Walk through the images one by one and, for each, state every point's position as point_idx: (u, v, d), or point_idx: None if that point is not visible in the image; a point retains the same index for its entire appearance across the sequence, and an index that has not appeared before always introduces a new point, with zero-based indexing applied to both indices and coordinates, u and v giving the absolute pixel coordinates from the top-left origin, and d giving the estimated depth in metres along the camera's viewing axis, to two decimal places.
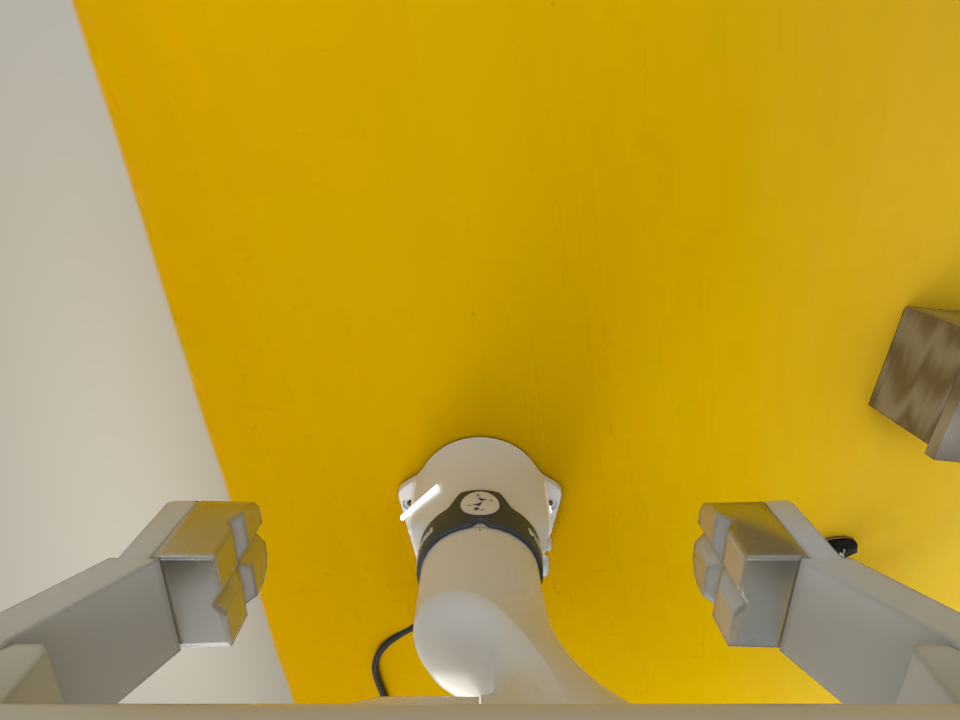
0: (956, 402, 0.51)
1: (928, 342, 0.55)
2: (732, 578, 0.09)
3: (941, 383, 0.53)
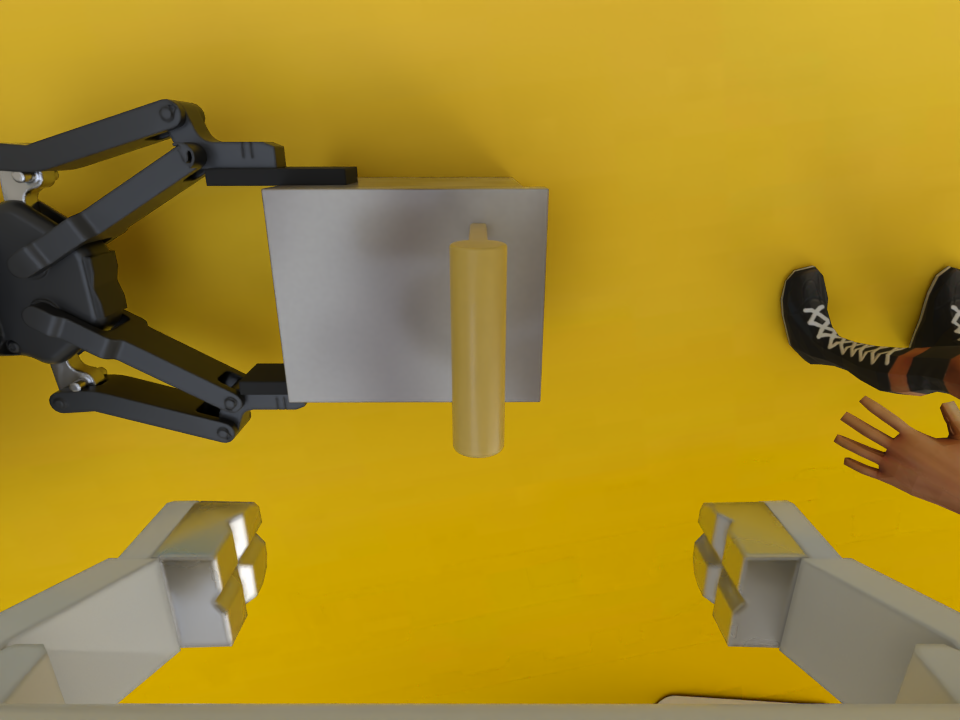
0: None
1: None
2: (732, 578, 0.09)
3: None
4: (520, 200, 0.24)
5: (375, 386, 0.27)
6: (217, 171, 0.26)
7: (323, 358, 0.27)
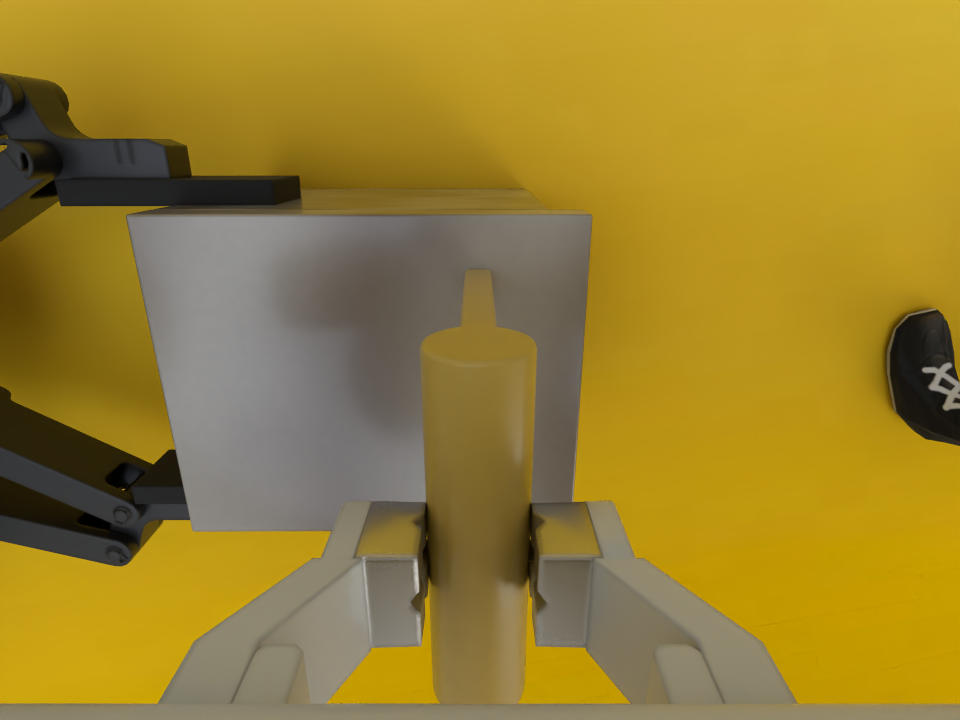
0: None
1: None
2: (536, 578, 0.09)
3: None
4: (546, 232, 0.15)
5: (322, 509, 0.18)
6: (74, 184, 0.17)
7: (242, 471, 0.18)
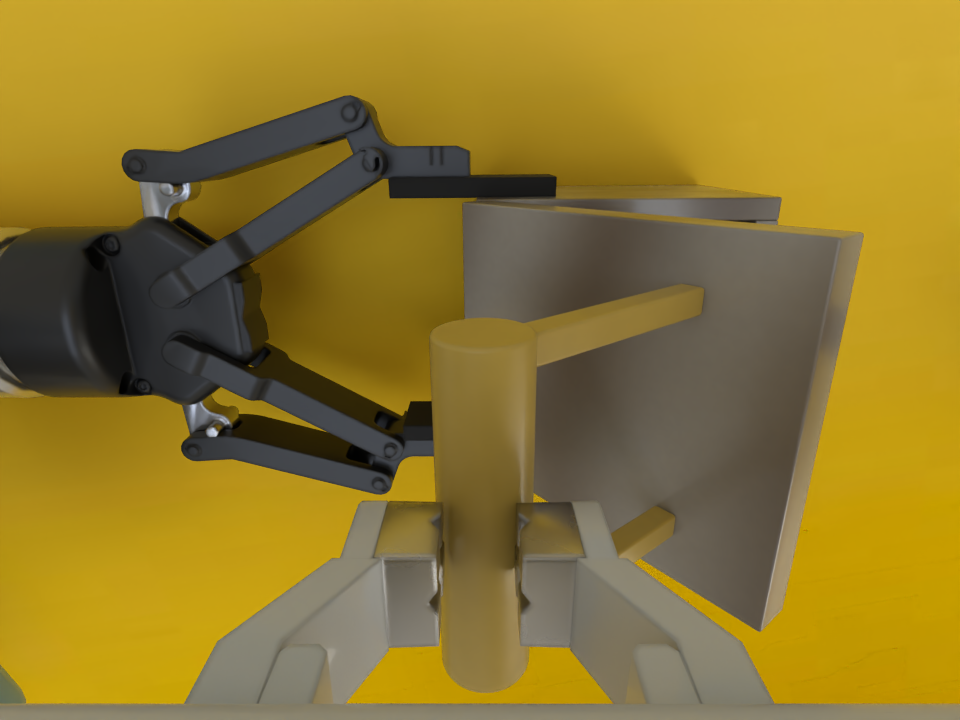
0: None
1: None
2: (520, 578, 0.09)
3: None
4: (775, 254, 0.12)
5: (540, 477, 0.20)
6: (403, 181, 0.22)
7: None
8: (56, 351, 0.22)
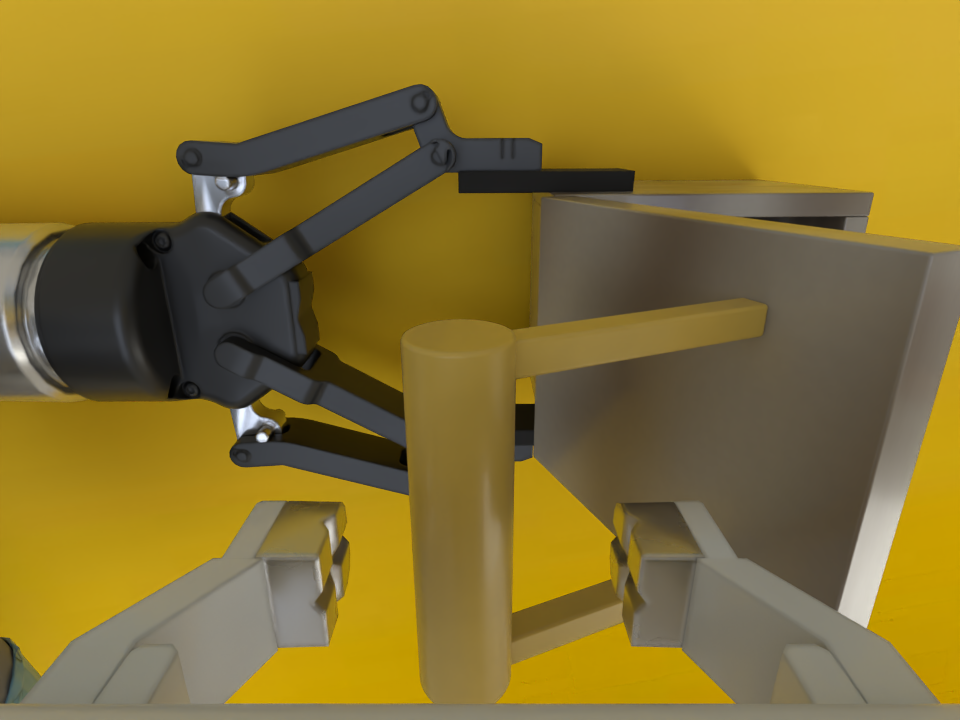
0: None
1: None
2: (633, 578, 0.09)
3: None
4: (851, 269, 0.10)
5: (595, 494, 0.19)
6: (474, 175, 0.21)
7: (560, 425, 0.20)
8: (107, 354, 0.21)
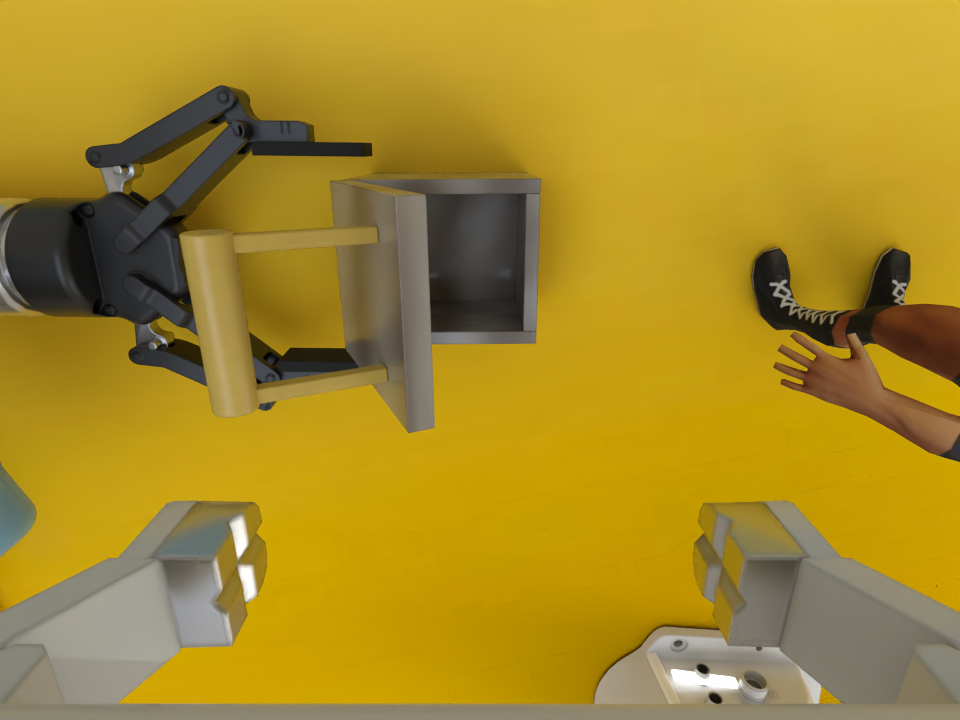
0: None
1: None
2: (732, 578, 0.09)
3: None
4: (386, 205, 0.22)
5: (361, 358, 0.31)
6: (261, 143, 0.33)
7: (349, 322, 0.33)
8: (50, 279, 0.33)
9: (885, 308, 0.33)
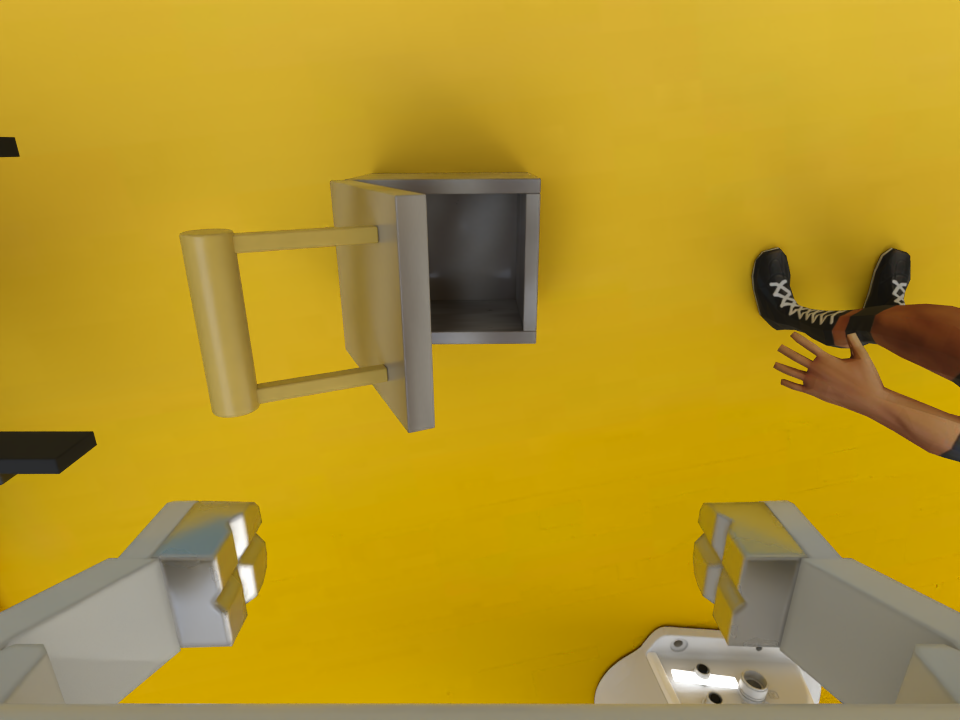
0: None
1: None
2: (732, 578, 0.09)
3: None
4: (386, 205, 0.22)
5: (361, 358, 0.31)
6: None
7: (349, 322, 0.33)
8: None
9: (885, 308, 0.33)
